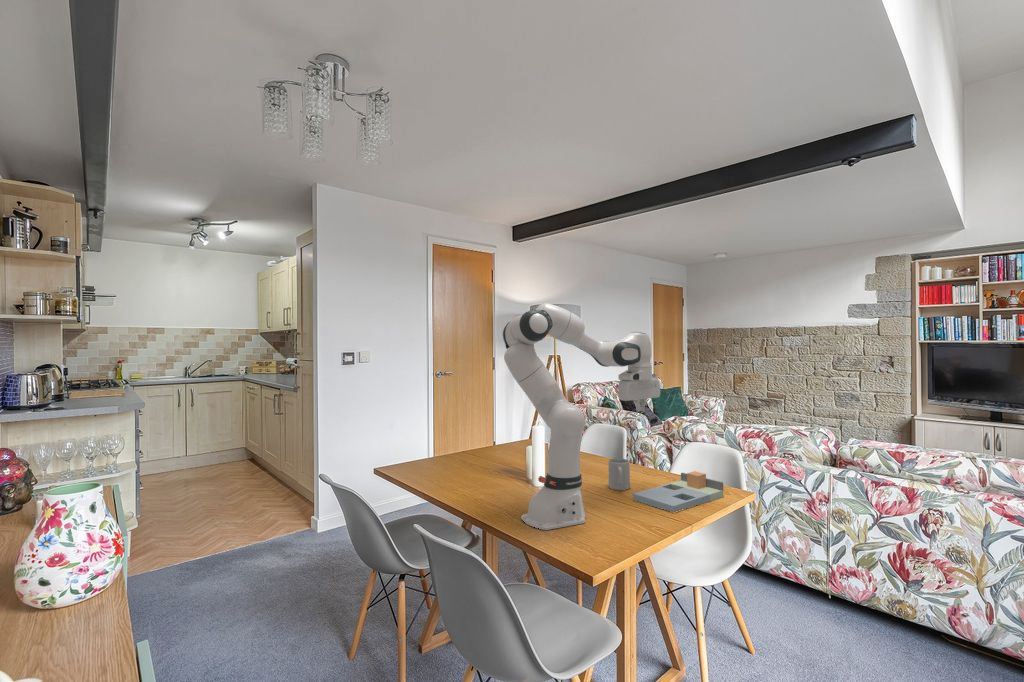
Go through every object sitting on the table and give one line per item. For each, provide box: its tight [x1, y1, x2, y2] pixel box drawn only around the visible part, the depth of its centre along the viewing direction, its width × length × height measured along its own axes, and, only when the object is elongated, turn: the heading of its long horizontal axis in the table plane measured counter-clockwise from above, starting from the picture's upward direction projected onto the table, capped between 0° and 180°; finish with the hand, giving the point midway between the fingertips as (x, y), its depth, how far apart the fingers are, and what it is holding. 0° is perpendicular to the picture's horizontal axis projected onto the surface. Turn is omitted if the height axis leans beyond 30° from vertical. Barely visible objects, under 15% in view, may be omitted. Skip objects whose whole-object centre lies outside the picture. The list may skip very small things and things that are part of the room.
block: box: [686, 470, 707, 489], centre depth 187 cm, size 5×5×5 cm
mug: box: [607, 457, 631, 491], centre depth 194 cm, size 12×8×11 cm
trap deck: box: [632, 472, 724, 513], centre depth 180 cm, size 30×18×6 cm, turn 125°
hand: (640, 411), depth 182 cm, fingers closed
